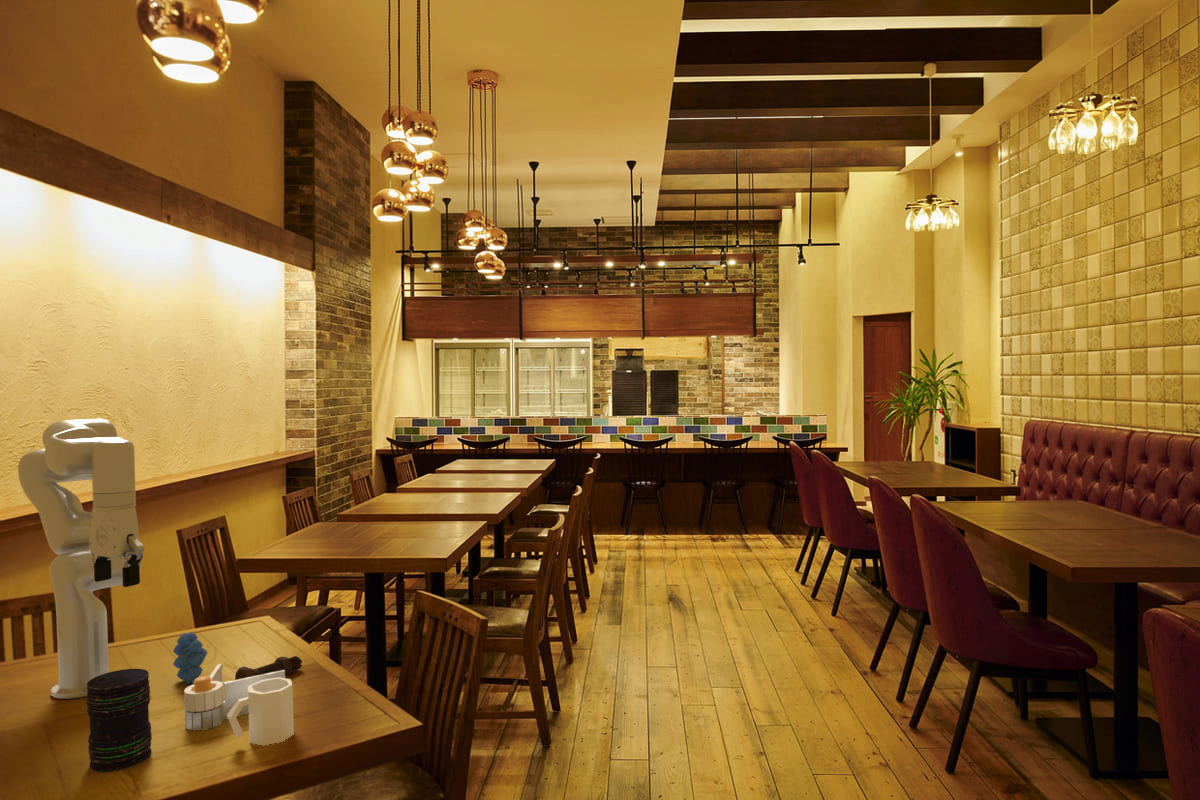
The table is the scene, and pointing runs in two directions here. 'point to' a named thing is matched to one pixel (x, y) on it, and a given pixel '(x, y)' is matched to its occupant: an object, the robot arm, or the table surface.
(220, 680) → the hinge leaf cream
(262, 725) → the mug
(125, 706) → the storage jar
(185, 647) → the grapes
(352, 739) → the table surface
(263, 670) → the bolt
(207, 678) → the hinge pin
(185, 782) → the table surface
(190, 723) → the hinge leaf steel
